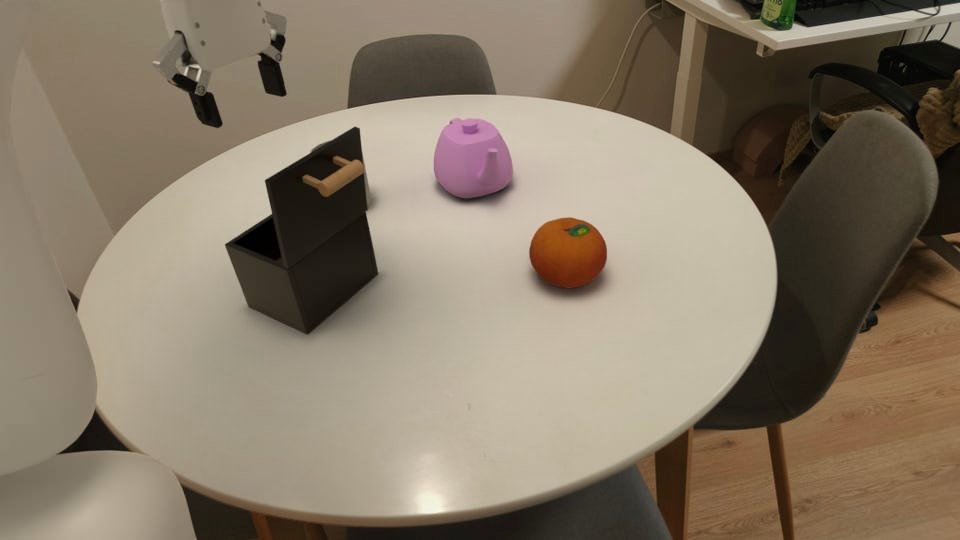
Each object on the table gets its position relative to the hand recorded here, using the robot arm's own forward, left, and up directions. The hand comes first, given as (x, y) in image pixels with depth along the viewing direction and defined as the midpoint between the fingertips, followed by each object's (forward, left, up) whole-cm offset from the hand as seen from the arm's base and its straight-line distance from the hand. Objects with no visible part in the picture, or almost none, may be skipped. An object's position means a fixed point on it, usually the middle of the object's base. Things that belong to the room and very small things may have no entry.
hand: (245, 109), depth 74 cm
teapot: (+35, -8, -27) cm, 45 cm away
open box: (0, -3, -27) cm, 27 cm away
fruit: (+20, -33, -27) cm, 47 cm away
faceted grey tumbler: (+20, +9, -27) cm, 35 cm away
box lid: (0, -9, -10) cm, 13 cm away
